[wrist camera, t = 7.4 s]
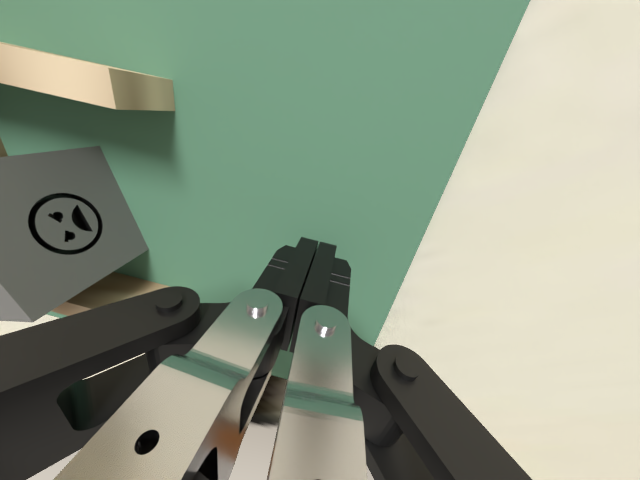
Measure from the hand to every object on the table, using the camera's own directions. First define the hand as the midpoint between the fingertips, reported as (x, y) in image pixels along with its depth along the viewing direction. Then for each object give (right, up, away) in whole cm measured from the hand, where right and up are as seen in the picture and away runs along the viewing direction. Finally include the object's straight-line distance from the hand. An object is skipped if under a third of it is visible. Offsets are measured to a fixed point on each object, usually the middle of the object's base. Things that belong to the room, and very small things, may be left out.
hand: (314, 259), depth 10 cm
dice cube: (-11, +3, +2) cm, 12 cm away
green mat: (-7, +2, +1) cm, 7 cm away
